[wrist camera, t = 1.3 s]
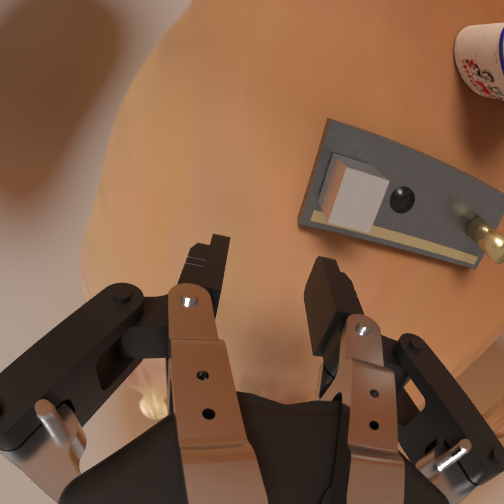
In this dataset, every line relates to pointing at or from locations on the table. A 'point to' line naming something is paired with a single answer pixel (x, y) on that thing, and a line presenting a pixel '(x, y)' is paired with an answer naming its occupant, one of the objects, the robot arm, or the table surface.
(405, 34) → the table surface
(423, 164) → the plate
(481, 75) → the teacup with lid
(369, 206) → the light grey block
